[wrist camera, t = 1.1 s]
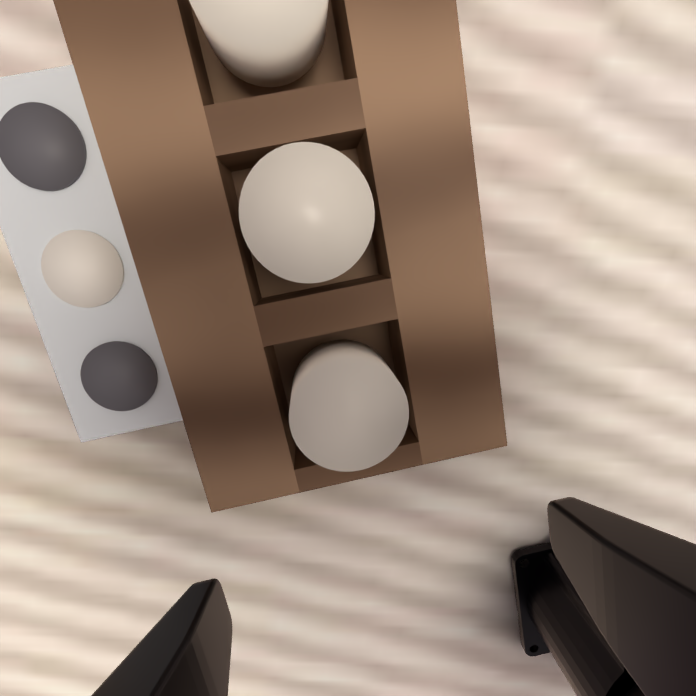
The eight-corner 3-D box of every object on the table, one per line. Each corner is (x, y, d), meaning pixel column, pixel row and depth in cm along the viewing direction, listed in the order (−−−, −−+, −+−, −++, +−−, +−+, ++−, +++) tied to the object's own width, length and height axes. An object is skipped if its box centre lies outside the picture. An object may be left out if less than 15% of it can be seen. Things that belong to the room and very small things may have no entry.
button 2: (399, 423, 18) (417, 457, 15) (304, 444, 17) (303, 482, 14) (382, 330, 17) (398, 346, 14) (282, 351, 16) (276, 372, 14)
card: (198, 414, 19) (195, 419, 18) (85, 438, 19) (78, 444, 18) (94, 66, 16) (86, 59, 15) (-44, 90, 15) (-58, 84, 15)
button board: (476, 415, 20) (507, 445, 17) (226, 471, 20) (211, 512, 17) (410, -86, 16) (436, -170, 12) (80, -31, 15) (21, -105, 12)
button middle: (371, 266, 16) (385, 269, 13) (266, 287, 16) (256, 295, 13) (351, 153, 15) (361, 129, 12) (239, 174, 15) (222, 156, 12)
